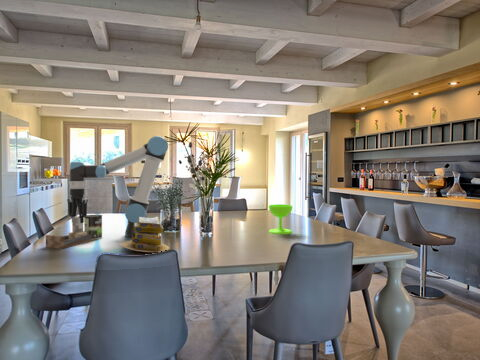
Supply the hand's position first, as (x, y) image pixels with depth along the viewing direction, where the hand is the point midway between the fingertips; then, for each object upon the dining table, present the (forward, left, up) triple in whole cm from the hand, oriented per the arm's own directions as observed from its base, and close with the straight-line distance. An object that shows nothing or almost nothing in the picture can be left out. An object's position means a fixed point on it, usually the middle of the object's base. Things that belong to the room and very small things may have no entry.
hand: (77, 228), depth 200 cm
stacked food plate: (-48, 0, -8) cm, 49 cm away
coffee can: (0, -12, -8) cm, 14 cm away
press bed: (0, +6, -8) cm, 10 cm away
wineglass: (-102, -75, -8) cm, 127 cm away
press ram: (0, -1, -6) cm, 6 cm away
